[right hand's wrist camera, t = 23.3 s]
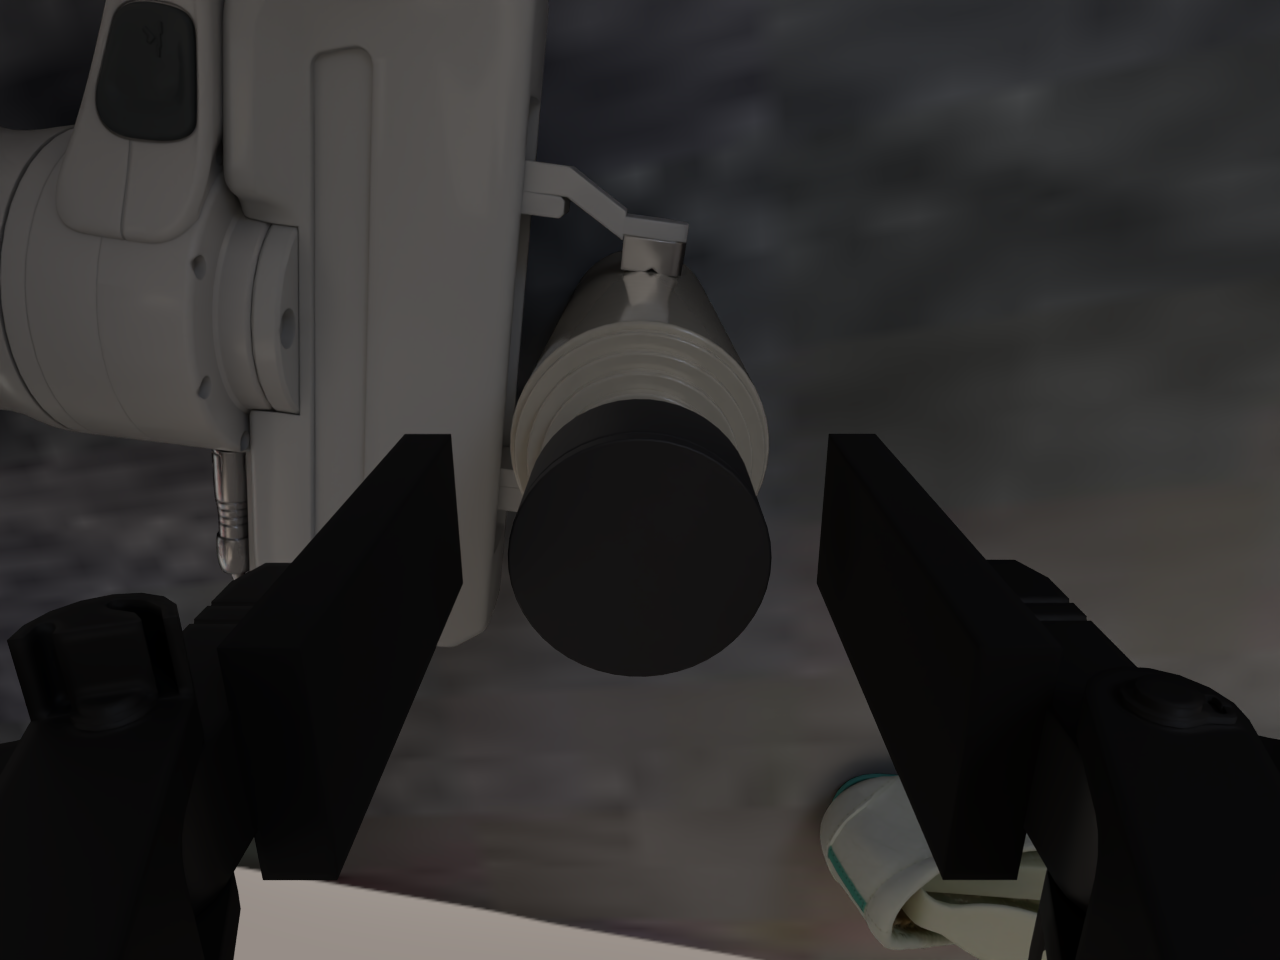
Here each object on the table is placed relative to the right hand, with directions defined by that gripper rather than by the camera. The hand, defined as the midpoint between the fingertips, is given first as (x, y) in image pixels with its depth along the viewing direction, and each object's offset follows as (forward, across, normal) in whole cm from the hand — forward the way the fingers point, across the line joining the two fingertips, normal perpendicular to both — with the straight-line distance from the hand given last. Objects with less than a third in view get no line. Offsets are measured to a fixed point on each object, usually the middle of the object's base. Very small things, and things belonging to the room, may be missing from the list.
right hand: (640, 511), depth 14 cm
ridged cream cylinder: (+19, 0, 0) cm, 19 cm away
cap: (-2, 0, 0) cm, 2 cm away
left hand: (+12, -1, 0) cm, 12 cm away
